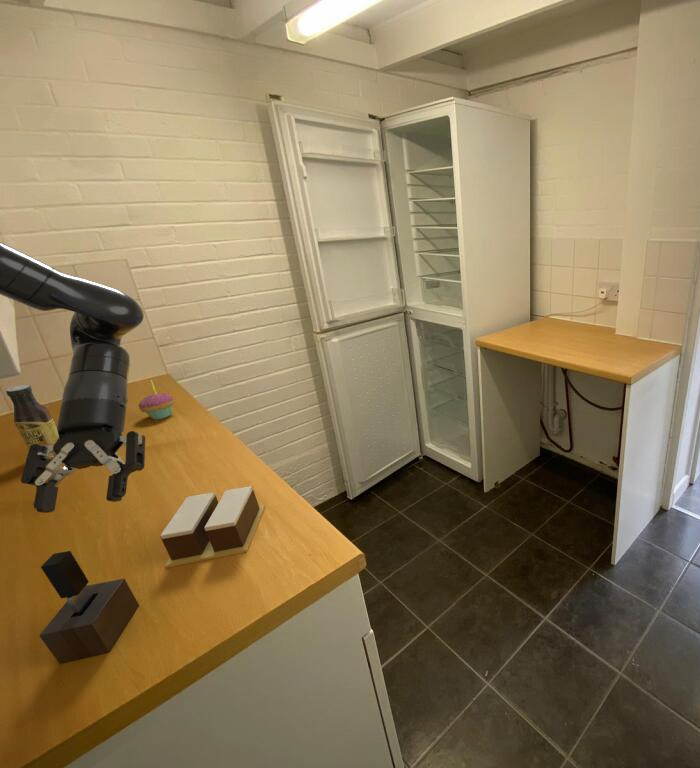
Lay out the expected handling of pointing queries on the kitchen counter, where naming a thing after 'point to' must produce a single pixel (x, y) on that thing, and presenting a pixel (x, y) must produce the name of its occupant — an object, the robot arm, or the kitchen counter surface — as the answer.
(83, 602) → the knife
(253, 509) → the cake
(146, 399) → the cupcake
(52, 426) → the sauce bottle
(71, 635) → the knife block
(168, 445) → the kitchen counter surface
